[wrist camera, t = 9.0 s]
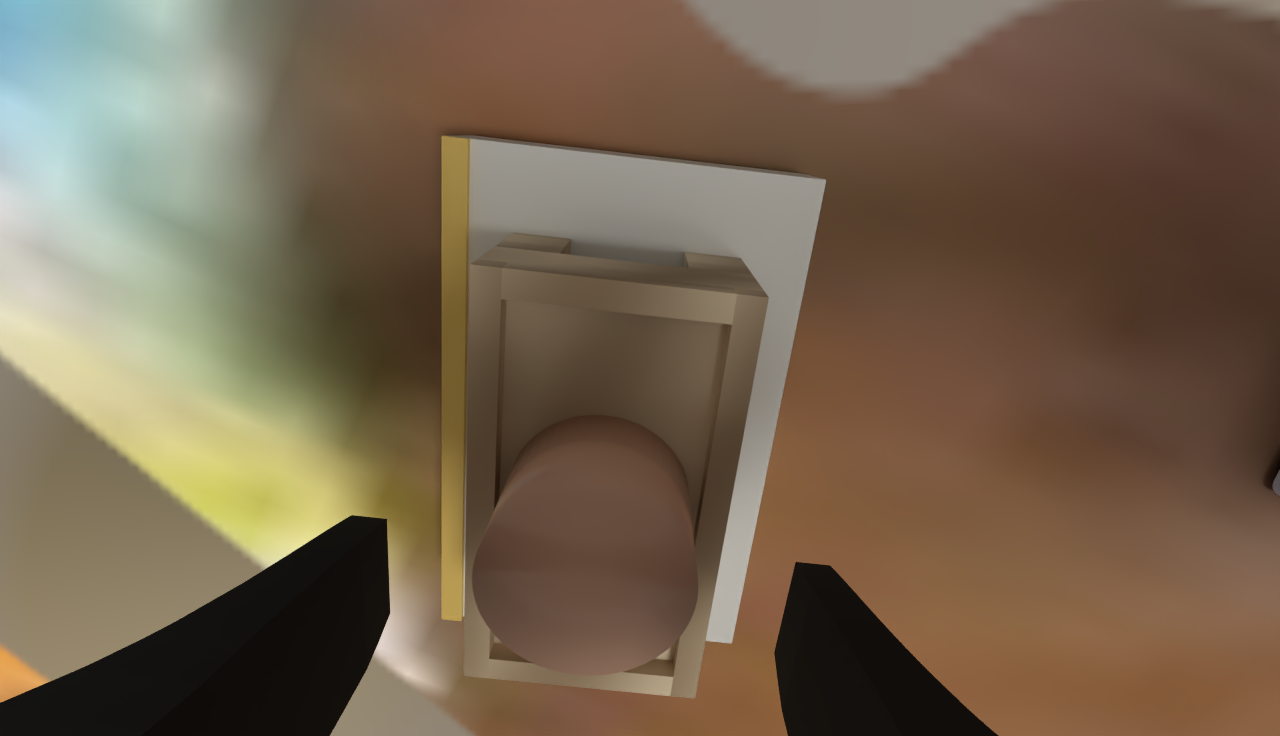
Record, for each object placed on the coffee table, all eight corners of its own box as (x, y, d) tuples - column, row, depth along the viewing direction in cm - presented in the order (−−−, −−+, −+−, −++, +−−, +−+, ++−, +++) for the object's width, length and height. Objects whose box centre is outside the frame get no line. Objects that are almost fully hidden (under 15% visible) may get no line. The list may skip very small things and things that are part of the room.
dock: (802, 173, 17) (828, 180, 15) (723, 589, 22) (732, 648, 20) (472, 135, 17) (441, 135, 15) (465, 563, 22) (441, 619, 19)
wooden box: (741, 257, 16) (768, 297, 12) (686, 587, 19) (694, 698, 15) (514, 232, 15) (469, 264, 12) (500, 568, 19) (463, 675, 15)
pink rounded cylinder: (700, 424, 13) (713, 502, 11) (677, 579, 15) (683, 684, 12) (511, 405, 13) (472, 478, 10) (505, 563, 15) (471, 664, 12)
